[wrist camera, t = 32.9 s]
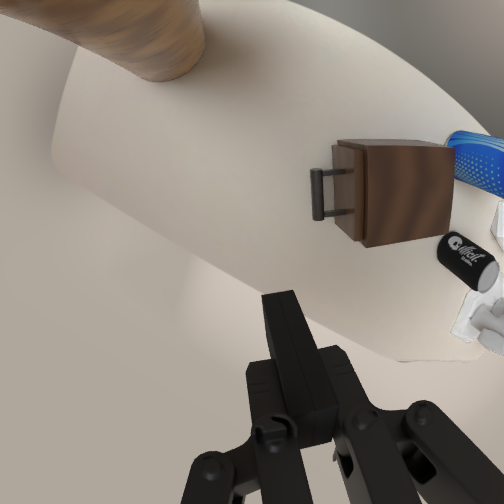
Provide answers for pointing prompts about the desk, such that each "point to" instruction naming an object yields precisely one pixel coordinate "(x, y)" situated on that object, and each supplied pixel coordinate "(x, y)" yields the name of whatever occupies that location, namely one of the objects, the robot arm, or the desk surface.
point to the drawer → (342, 191)
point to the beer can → (479, 160)
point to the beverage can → (468, 262)
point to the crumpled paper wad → (499, 225)
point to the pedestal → (123, 31)
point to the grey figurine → (483, 317)
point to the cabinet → (405, 189)
